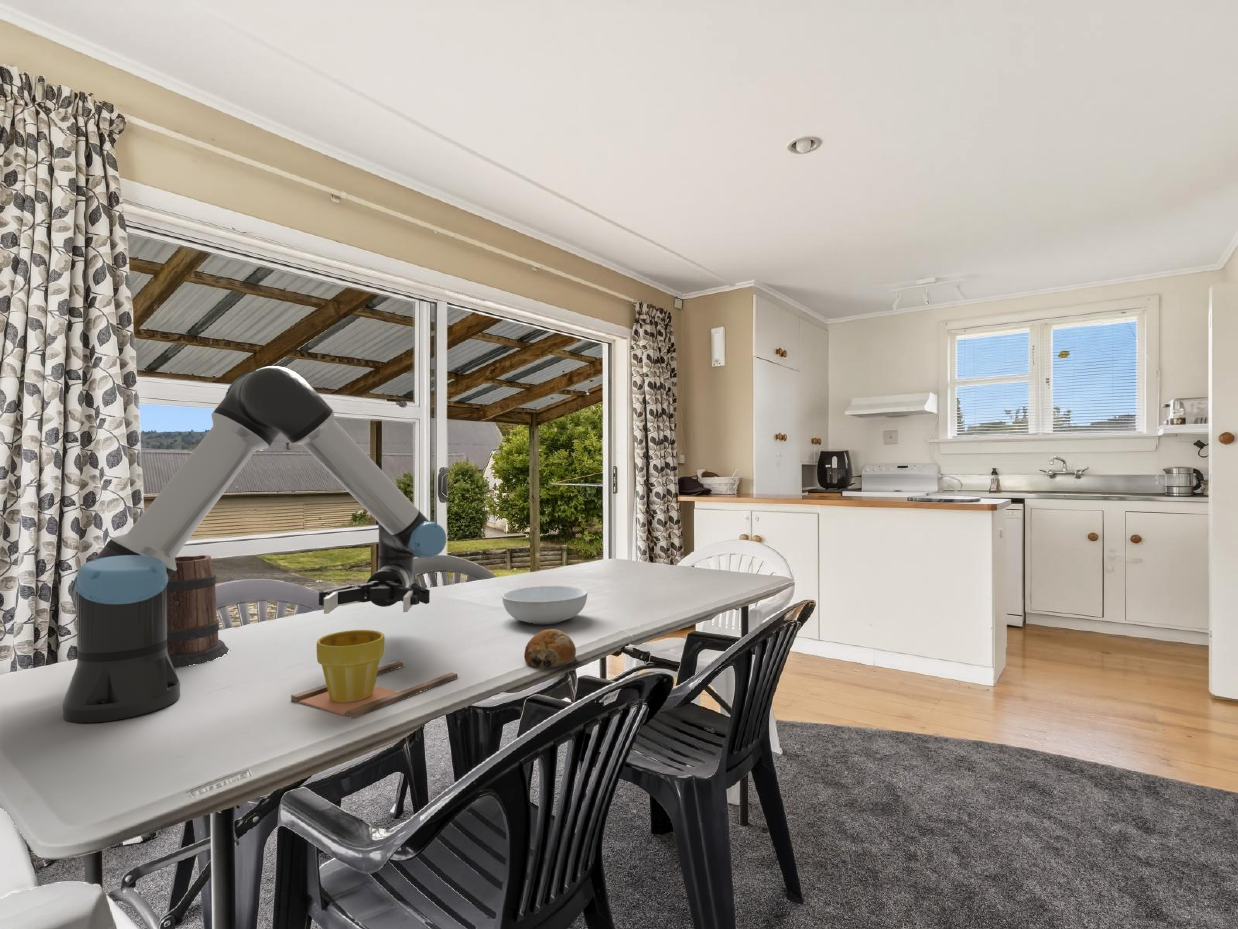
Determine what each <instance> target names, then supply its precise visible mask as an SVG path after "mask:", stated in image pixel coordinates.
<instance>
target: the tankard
mask: <svg viewBox="0 0 1238 929" xmlns="http://www.w3.org/2000/svg"><path fill="white" fill-rule="evenodd" d="M175 562H176V567H177V570H176V571H175V573H174V574H173V575H172V577H171V578H170V580H169V581H168V583H167V652H168V655H169V657H170V660H171V662H172V664H173V667H174V669H179V668H178V667H180V668H187V667H190V666H189V665H193V664H198V665H201V664H206V663H208V662H207V661H210V662H214V661H215V660H214V659H216V658H218V657H222V656H223V655H224V654H227V652H228V650H229V649H230V648H229V647H227V645H226V644H225V641H224V640H223V641H222V640H221V639H219V630H220V620H219V619H218V616H217V615H218V613H217V611H218V610H217V594H216V593H217V592H216V584H217V575H216V573H215V571H214V566H213V562H212V556H211V555H207V554H205V555H196V556H194V555H193V556H189V555H188V556H187V555H185V556H176V557H175ZM228 648H229V649H228ZM227 655H228V654H227ZM222 658H223V657H222ZM213 660H214V661H213ZM205 662H206V663H205ZM186 666H187V667H186ZM193 666H194V665H193ZM176 667H177V668H176Z"/></svg>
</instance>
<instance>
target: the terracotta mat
mask: <svg viewBox="0 0 1238 929" xmlns="http://www.w3.org/2000/svg"><path fill="white" fill-rule="evenodd" d="M397 692H398V690H397V691H396V690H394V689H393V690H392V689H389V688H384V687H379V686H376V685H375V686H374V690H373V694H372V695H371V696H370V697H368V698H366V699H364V700H361V701H357V702H351V703H336V702H333V701H331V700H330V697H329V693H328V692H325V693H322V694H319V695H316V696H313V697H310V698H307V699H304V700H301V701H299V703H300V704H303V705H306V706H309V707H313V708H316V709H320V710H324V711H327V712H330V713H333V714H337V715H340V716H347V711H348V710H351V709H354V708H356V707H359V706H362V705H365V704H367V703H370V702H373V701H375V700H378V699H381V698H384V697H386V696H389V695H392V694H394V693H397Z"/></svg>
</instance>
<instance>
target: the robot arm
mask: <svg viewBox="0 0 1238 929" xmlns="http://www.w3.org/2000/svg"><path fill="white" fill-rule="evenodd" d="M210 415H211V419H212V420H211V421H212V427H211V428H210V429H209V431H208V432H207V433H206V435H205V436H204V437H203V438H202V440H201V441H200V442H199V443H198V444H197V446H196V447H195V448H194V449H193V451H192V452H191V454H190V455H189V456H188V457H187V458H186V459H185V461H184V462H183V463H182V464H181V465H180V467H179V468H178V469H177V471H176V472H175V473H174V474H173V476H172V477H171V478H170V479H169V481H168V482H167V483H166V484H165V486H164V487H163V488H162V490H161V491H160V492H159V494H158V495H157V496H156V497H155V499H154V500H153V501H152V502H151V503H150V504H149V506H148V507H147V508H146V510H145V511H144V512H143V513H142V515H141V516H139V518H138V520H136V522H135V524H134V525H133V526H132V527H131V528H130V530H129V531H128V532H127V533H124V534H121V535H116V536H113V537H111V538H110V539H109V540H108V542H107V543H106V544H105V545H104V547H103V548H102V549H101V550H100V552H99V553H98V554H97V555H96V557H95V558H94V559H93V560H91V561H87V562H84V563H83V564H82V565H81V566H80V567H79V569H78V570H77V574H76V576H75V578H74V579H73V582H72V585H71V588H70V589H71V590H70V591H71V593H70V595H71V596H70V598H71V601H72V603H73V604H72V605H73V607H74V609H75V611H76V644H77V645H76V651H77V652H76V654H77V658H76V659H77V661H76V662H77V663H76V667H75V669H74V672H73V675H72V677H71V680H70V683H69V685H68V688H67V691H66V694H65V696H64V699H63V700H62V701H63V702H62V718H63V719H64V720H65V721H68V722H73V723H101V722H103V723H104V722H111V721H117V720H123V719H130V718H134V717H137V716H142V715H145V714H149V713H152V712H156V711H159V710H162V709H163V708H166V707H168V706H171V705H172V704H174V703H175V702H176V701H178V700H179V699H180V697H181V683H180V679H179V677H178V675H177V672H176V670H175V669H176V668H174V667H173V664H172V662H171V660H170V657H169V655H168V652H167V583H168V581H169V580H170V578H171V577H172V575H173V574H174V573H175V571H176V570H177V567H176V562H175V557H177V555H178V554H179V553H180V551H181V550H182V549H183V547H184V546H185V545H186V543H187V542H188V541H189V539H190V538H191V537H192V536H193V534H194V533H195V532H196V530H197V529H198V528H199V527H200V525H201V524H202V522H203V521H204V520H205V518H206V517H207V516H208V515H209V513H210V512H211V510H212V509H213V508H214V507H215V505H216V504H217V502H218V501H219V500H220V499H221V497H222V496H223V495H224V493H225V492H226V490H228V488H229V487H230V486H231V484H232V483H233V481H235V479H236V477H237V476H238V475H239V474H240V472H241V471H242V470H243V469H244V467H245V466H246V464H247V463H248V461H249V460H250V459H251V457H253V455H254V454H255V452H256V451H261V450H267V449H269V448H270V447H271V445H272V444H273V443H274V441H275V439H276V438H277V437H278V436H279V434H281V435H283V436H284V437H285V438H286V439H287V440H288V441H289V442H290V443H291V444H293V445H300V446H303V448H304V449H305V450H306V451H307V452H308V453H309V454H310V455H311V456H312V457H313V458H314V459H315V460H316V461H317V462H318V463H319V464H320V465H321V466H322V467H323V468H324V469H325V470H326V471H327V472H328V474H330V475H331V476H332V477H333V478H334V479H335V480H336V481H337V482H338V484H340V485H341V486H342V487H343V488H344V489H345V491H347V493H349V494H350V495H351V496H352V497H353V498H354V499H355V500H356V501H357V502H358V503H359V504H360V505H361V506H362V507H363V508H364V509H365V510H366V511H367V512H368V513H369V515H371V516H372V517H373V519H374V520H376V521H377V523H378V525H377V526H378V527H377V528H378V559H377V560H378V563H377V566H378V567H377V570H376V572H374V573H373V574H371V576H370V577H369V578H368V579H367V582H366V583H360V584H358V585H357V587H356V585H355V584H354V583H349V584H346V585H343V586H340V587H339V586H338V587H335V588H330V589H326V590H325V589H324V590H321V591H319V592H318V606H321V607H323V614H324V615H329V614H330V613H331V612H333V611H334V610H336V608H338V606H339V605H344V604H349V603H354V602H358V603H363V604H364V603H368V602H369V603H370V602H371V603H372V604H373V605H376V606H378V607H382V608H383V607H385V608H386V607H391V606H393V605H396V604H397V603H398V602H403V604H402V607H403V608H402V613H408V612H409V610H411V608H412V607H413V606H417V605H419V604H420V603H422V604H425V605H428V604H429V603H430V595H431V594H430V593H431V592H430V589H428V588H425V587H422V586H421V585H419V584H418V583H416V582H415V581H416V580H415V579H416V570H415V568H414V557H416V558H418V559H432V558H435V557H437V556H438V555H440V554H441V553H442V552H443V550H444V549H445V547H446V545H447V535H446V534H447V533H446V531H445V529H444V527H442V526H441V525H440V524H438V523H436V522H434V521H431V520H429V519H428V518H427V517H426V516H425V515H424V514H423V513H422V512H421V511H420V510H419V509H418V508H417V507H416V505H414V503H412V501H410V499H409V498H408V497H407V496H406V495H405V494H404V493H403V492H402V490H400V488H399V487H398V486H397V485H396V484H395V483H394V482H393V481H392V480H391V479H390V478H389V477H388V475H386V473H384V472H383V470H382V469H381V468H380V467H379V466H378V465H377V463H376V462H375V461H374V460H372V459H371V457H370V456H369V455H368V454H367V453H366V452H365V451H364V450H363V449H362V447H360V446H359V445H358V444H357V442H356V441H355V440H354V439H353V438H352V437H351V436H350V435H349V433H348V432H346V430H345V429H344V428H343V427H342V426H341V425H340V424H339V423H338V422H337V421H336V420H335V411H334V409H333V408H332V407H330V405H329V404H328V403H327V402H326V401H325V400H324V399H323V397H322V396H321V395H320V394H319V393H318V392H317V391H316V390H315V389H314V388H313V387H312V386H311V385H310V384H309V382H307V381H306V380H305V379H304V378H303V377H302V376H301V375H300V374H298V373H297V372H295V371H293V370H291V369H289V368H286V367H284V366H283V367H282V366H274V365H272V366H271V365H270V366H264V367H261V368H258V369H255V370H254V371H251V372H248V373H245V374H243V375H241V376H239V377H238V378H237V379H235V380H234V381H233V382H232V383H231V384H230V385H229V387H228V389H227V391H226V392H225V396H224V398H223V399H222V400H221V402H220V403H219V404H218V406H217V407H216V408H215V409H214V410H213V412H212V413H211V414H210Z"/></svg>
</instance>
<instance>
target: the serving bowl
mask: <svg viewBox="0 0 1238 929" xmlns="http://www.w3.org/2000/svg"><path fill="white" fill-rule="evenodd" d="M501 599H502V603H503V607H504V610H506V612H507V614H509V615H510V617H512V618H514V619H516V620H518V621H521V622H525V623H529V624H531V623H533V624H532V625H553V624H557V623H558V624H559V623H561V622H563V621H567V620H569V619H572V618H574V617H575V616H578V614H579V613H581V611H583V609H584V608H585V605H586V603H587V600H588V591H587V590H586V589H584V588H581V587H578V586H572V585H539V586H538V585H537V586H528V587H527V586H526V587H522V588H515V589H511V590H508V591H506V592H504V593H503V594H502V595H501Z"/></svg>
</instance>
